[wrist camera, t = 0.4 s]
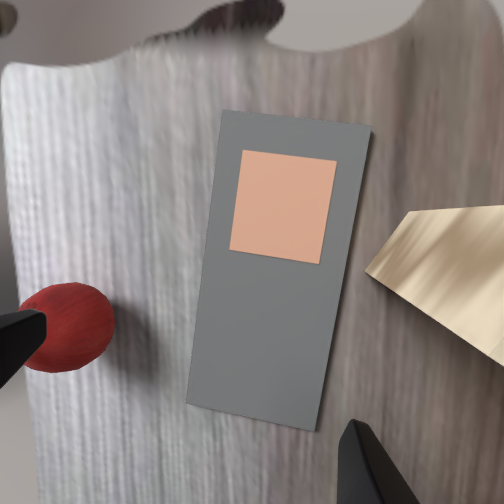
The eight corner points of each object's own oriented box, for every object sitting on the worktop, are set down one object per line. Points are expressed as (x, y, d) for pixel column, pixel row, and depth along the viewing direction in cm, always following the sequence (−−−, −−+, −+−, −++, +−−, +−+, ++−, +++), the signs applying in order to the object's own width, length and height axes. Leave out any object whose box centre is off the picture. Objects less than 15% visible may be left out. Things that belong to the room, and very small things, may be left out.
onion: (65, 334, 24) (-43, 390, 16) (72, 267, 23) (-37, 291, 16) (130, 350, 24) (51, 416, 16) (140, 282, 23) (62, 315, 15)
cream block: (403, 296, 21) (592, 425, 8) (364, 271, 21) (488, 355, 8) (449, 237, 20) (747, 271, 7) (409, 211, 20) (627, 196, 7)
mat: (313, 426, 22) (314, 432, 22) (188, 398, 23) (185, 403, 23) (369, 128, 20) (372, 125, 19) (224, 112, 21) (222, 109, 20)
